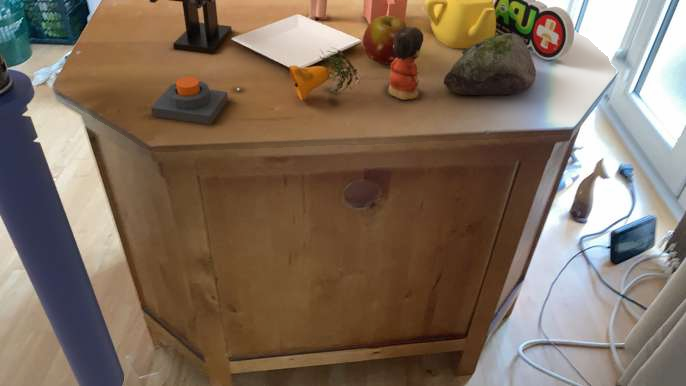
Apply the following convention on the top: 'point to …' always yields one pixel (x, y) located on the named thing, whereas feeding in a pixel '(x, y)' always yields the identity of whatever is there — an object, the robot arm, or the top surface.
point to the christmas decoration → (321, 75)
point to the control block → (190, 105)
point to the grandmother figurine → (317, 9)
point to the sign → (536, 26)
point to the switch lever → (184, 1)
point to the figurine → (405, 63)
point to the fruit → (382, 38)
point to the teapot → (462, 21)
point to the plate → (296, 41)
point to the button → (188, 86)
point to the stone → (493, 67)
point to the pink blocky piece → (384, 9)
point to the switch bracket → (202, 29)
